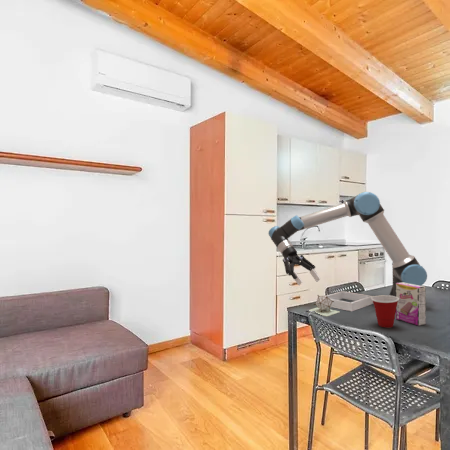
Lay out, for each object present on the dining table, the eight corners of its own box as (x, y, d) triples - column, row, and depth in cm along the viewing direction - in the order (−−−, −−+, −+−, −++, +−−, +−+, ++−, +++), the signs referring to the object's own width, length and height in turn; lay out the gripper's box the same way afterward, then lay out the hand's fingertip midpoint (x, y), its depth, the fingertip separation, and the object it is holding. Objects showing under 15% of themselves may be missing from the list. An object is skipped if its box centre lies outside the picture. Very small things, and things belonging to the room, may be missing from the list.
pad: (339, 312, 167) (339, 311, 167) (326, 316, 160) (326, 315, 160) (318, 307, 176) (318, 306, 176) (305, 311, 169) (305, 310, 169)
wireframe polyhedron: (327, 319, 167) (335, 306, 161) (310, 312, 169) (317, 299, 163) (329, 306, 174) (337, 293, 168) (313, 300, 176) (320, 286, 170)
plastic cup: (366, 322, 151) (366, 295, 151) (390, 321, 152) (389, 294, 152) (379, 330, 140) (379, 300, 140) (404, 329, 141) (404, 300, 141)
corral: (373, 303, 183) (373, 296, 183) (351, 311, 169) (351, 303, 168) (342, 298, 196) (342, 291, 196) (320, 304, 182) (320, 297, 182)
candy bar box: (395, 319, 155) (394, 283, 154) (402, 317, 157) (402, 281, 156) (418, 326, 145) (418, 287, 144) (426, 324, 147) (426, 286, 146)
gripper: (299, 253, 195) (321, 283, 184) (267, 256, 181) (288, 289, 169) (306, 244, 191) (329, 274, 179) (274, 247, 176) (296, 280, 165)
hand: (309, 282), depth 174 cm, fingers open, 13 cm apart
